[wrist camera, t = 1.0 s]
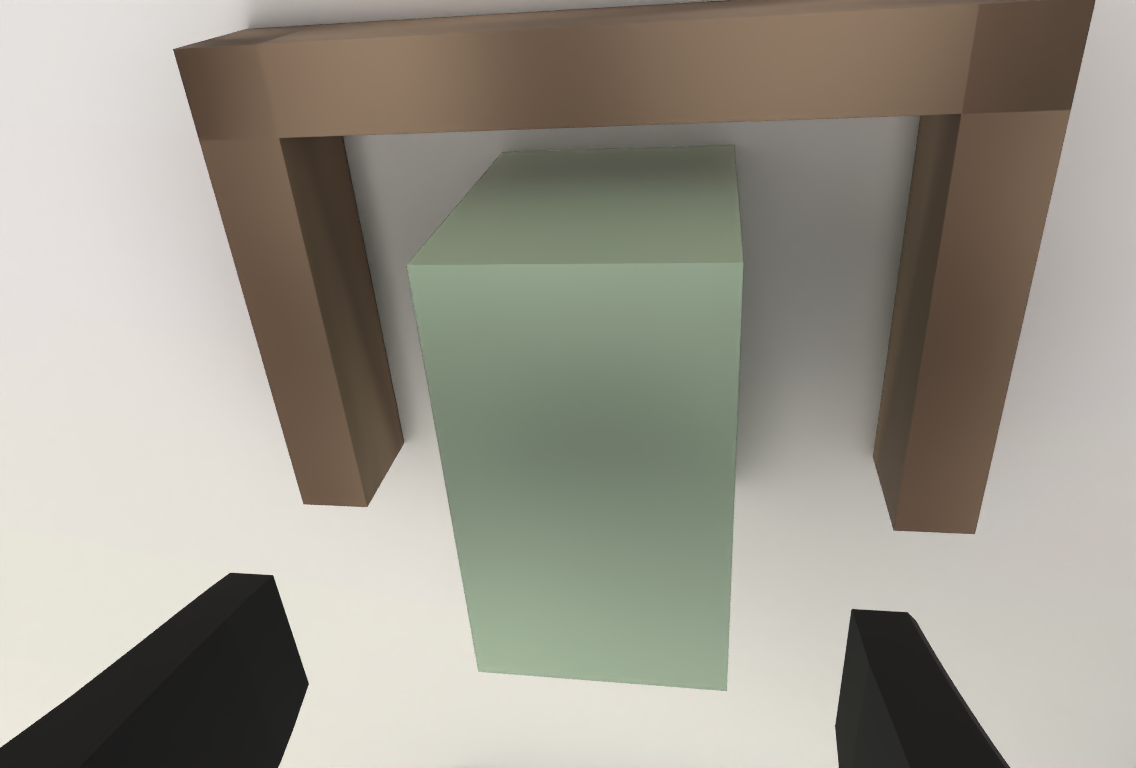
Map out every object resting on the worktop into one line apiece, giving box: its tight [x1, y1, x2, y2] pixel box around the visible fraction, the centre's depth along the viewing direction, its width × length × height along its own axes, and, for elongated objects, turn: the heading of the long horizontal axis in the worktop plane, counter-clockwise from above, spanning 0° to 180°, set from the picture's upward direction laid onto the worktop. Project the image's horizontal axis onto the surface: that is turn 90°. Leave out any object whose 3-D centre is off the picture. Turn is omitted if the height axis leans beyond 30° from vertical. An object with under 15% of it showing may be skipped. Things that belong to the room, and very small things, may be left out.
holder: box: [173, 0, 1095, 534], centre depth 16 cm, size 14×10×2 cm
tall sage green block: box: [407, 145, 743, 691], centre depth 15 cm, size 4×8×6 cm, turn 4°
